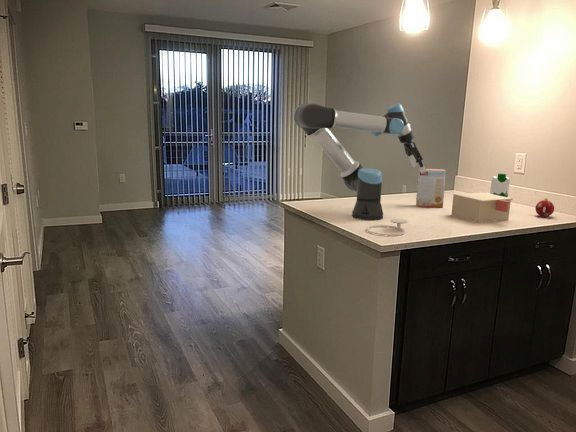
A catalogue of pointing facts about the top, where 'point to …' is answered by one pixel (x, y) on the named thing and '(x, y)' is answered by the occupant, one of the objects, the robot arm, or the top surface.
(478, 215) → the carton
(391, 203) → the top surface
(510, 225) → the top surface
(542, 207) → the christmas ornament
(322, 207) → the top surface
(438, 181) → the cracker box
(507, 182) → the milk carton
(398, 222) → the hand towel holder
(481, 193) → the lid flap
